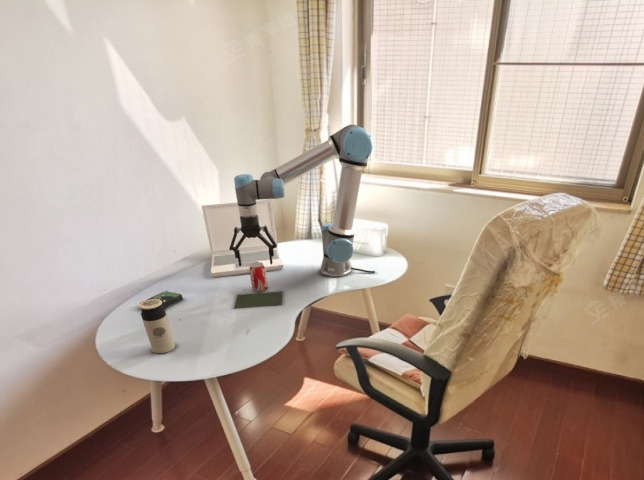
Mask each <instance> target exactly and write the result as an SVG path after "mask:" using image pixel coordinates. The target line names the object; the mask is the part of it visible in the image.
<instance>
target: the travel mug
mask: <svg viewBox="0 0 644 480" xmlns="http://www.w3.org/2000/svg"><path fill="white" fill-rule="evenodd" d="M145 300H146V301H145ZM145 300H143V302H142V301H141V302H142V303H141V302H139V303H140V304H138V307H139V309H140V310H141V312H140V316H141V320H142V322H143V325H144V329H145V332H146V335H147V339H148V341H149V344H150V347H151V350H152V352H153V353H155V354H166V353H168V352H171V351H173V350H174V349H175V347H176V343H175V340H174V336H173V333H172V329H171V326H170V323H169V319H168V315H167V312H166V308H165V309H164V308H163V307H162V301H161V300H159V299H150V300H147V299H145Z"/></svg>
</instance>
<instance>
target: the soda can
mask: <svg viewBox="0 0 644 480" xmlns="http://www.w3.org/2000/svg"><path fill="white" fill-rule="evenodd" d="M249 270H250V273H249V276H250V282H251V287H252V291H254V292H256V293H264V292H265V291H267V290H268V288H269V285H268V277H267V271H266V270H265V267H264V265H263V263H261V262H256V263H252V264H250V269H249Z"/></svg>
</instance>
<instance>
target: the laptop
mask: <svg viewBox="0 0 644 480" xmlns="http://www.w3.org/2000/svg"><path fill="white" fill-rule="evenodd" d="M256 205H257V212H258V213H257V215H258V219H259V225H260V227H263V226H265V225H266V226H267V228H268V231H269V233H270V234H271V236H272V237H273V239H274V240H275V242H276V244H277V247H276V248H274V249H273V250H274V256H272V264H270V257H269V247H268V246H267V245H266V244H265V243H264V242H263V241H261V240H260V239H259V238H258V237H256V238H247V237H246V238H245V239H244V241H243V242H242V244H241V245H240V247H239V248H238V250H239V252H240V258H241V266H239V262H238V258H235V253H234V251H233V250H230V249H229V248H230V245H231V242H232V239H233V236H234V228H235V227H237V228H241V222H240V216H241V215H239V209H238V203H237V201H235V202H227V203H226V202H224V203H215V204H214V203H213V204H203V205H201V210H202V214H203V220H204V225H205V230H206V233H207V238H208V244H209V248H210V249H209V250H210V253H211V267H210V268H211V269H210V275H211V277H213V278H221V277H231V276H239V275H248V274H250V270H249V269H250V264H252V263H256V262H261V263H263V265H264V267H265V270H266V272H273V271H281V270H283V269H284V262H283V261H282V257H281V254H280V251H279V246H278V245H279V244H278V238H277V237H278V236H277V229H276V222H275V215H274V214H275V213H274V206H273V205H274V204H273V199H260V200H256ZM260 233H261V234H262V236H263V237H264V238H265V239H266V240H267V241H269V242H270V243H271V241H270V240H269V238H268V237H267V235H266V234H265V232H263V230H261V231H260ZM242 236H243V233H242V232H241V231H239V233H237V236H236V239H235V242H234V246H233V247H235V246H236V245H237V243H238V242H239V240H240V239H241V237H242ZM271 244H272V243H271ZM272 245H273V244H272Z"/></svg>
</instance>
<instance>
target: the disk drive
mask: <svg viewBox="0 0 644 480" xmlns="http://www.w3.org/2000/svg"><path fill="white" fill-rule="evenodd" d="M150 299H159V300H161V301H162V307H163V308H164V309H165V310H166V309H167V308H169V307H171V306H173V305H175V304H178V303H179V302H181V301H182V300H184V298H183V294H181V293H177V292H175V291H174V292H173V291H168V290H165V291H162V292H160V293H158V294H156V295H153V296H151V297H149V298H146V299H145V300H143V301H146V300H150ZM143 301H140V302H139V304H140V303H142V302H143ZM139 304H138V305H139Z"/></svg>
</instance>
